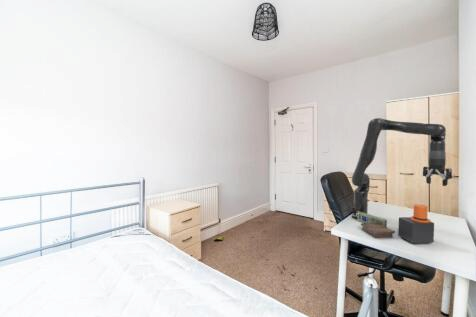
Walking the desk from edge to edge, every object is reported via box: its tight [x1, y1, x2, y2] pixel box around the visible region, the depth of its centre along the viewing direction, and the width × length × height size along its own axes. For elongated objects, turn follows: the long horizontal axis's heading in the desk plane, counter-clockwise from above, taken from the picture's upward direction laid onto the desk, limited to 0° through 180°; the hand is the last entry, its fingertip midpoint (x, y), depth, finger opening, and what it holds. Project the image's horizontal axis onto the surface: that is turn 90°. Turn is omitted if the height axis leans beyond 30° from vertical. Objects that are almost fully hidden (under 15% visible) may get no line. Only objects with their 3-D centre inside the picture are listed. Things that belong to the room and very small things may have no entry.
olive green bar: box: [351, 211, 388, 228], centre depth 150 cm, size 7×3×25 cm
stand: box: [360, 222, 395, 239], centre depth 134 cm, size 14×12×4 cm
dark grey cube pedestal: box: [398, 216, 435, 245], centre depth 123 cm, size 10×12×12 cm
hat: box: [409, 203, 432, 223], centre depth 122 cm, size 9×9×8 cm
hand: (436, 184), depth 129 cm, fingers open, 8 cm apart
